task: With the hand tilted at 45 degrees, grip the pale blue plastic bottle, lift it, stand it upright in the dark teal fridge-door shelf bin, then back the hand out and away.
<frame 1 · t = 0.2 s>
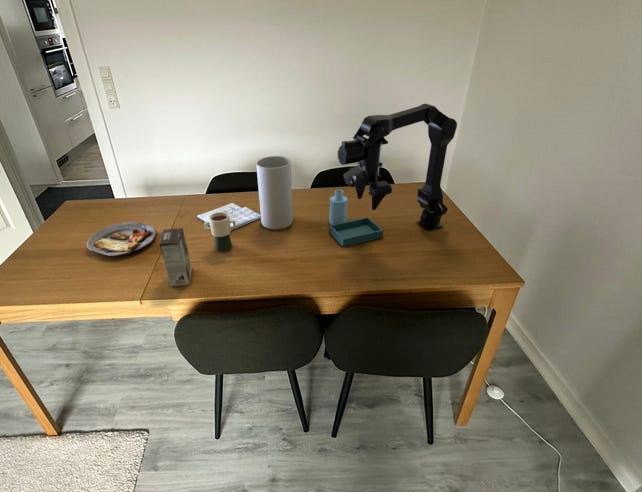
hand: (366, 204, 127), 15 cm above the table, tool pointing down, fingers open, 9 cm apart
plastic bottle: (337, 222, 148), on the table
food plate: (124, 242, 145), on the table
door shelf: (355, 234, 139), on the table
coffee box: (181, 278, 124), on the table
white printed square slab: (229, 218, 156), on the table
cylinder vase: (277, 223, 150), on the table
character mug: (224, 248, 137), on the table
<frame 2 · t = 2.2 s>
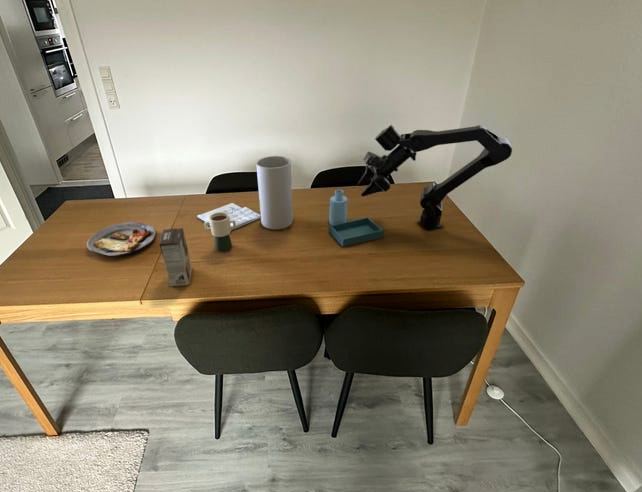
hand: (359, 190, 140), 13 cm above the table, tool tilted 45°, fingers open, 9 cm apart
nothing on the table moved.
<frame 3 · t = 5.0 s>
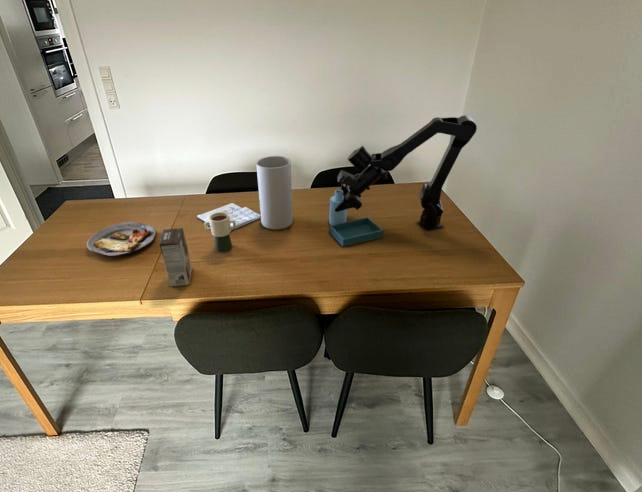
hand: (334, 207, 144), 7 cm above the table, tool tilted 45°, fingers closed on plastic bottle, 6 cm apart
plastic bottle: (337, 222, 148), on the table, touching gripper
everything else where it was.
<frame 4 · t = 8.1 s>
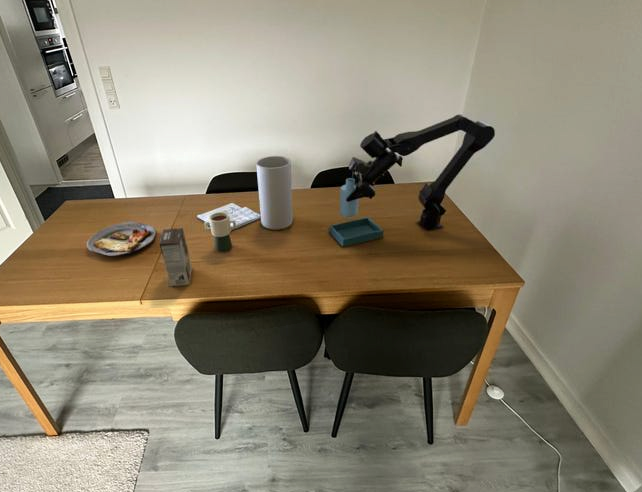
hand: (345, 196, 136), 13 cm above the table, tool tilted 45°, fingers closed on plastic bottle, 6 cm apart
plastic bottle: (348, 213, 139), point 7 cm above the table, touching gripper
everything else where it was.
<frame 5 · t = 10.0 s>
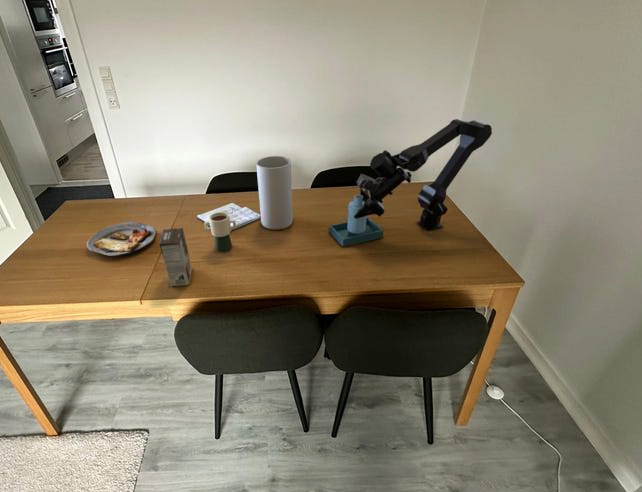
hand: (353, 213, 134), 9 cm above the table, tool tilted 45°, fingers closed on plastic bottle, 6 cm apart
plastic bottle: (356, 229, 138), point 2 cm above the table, touching gripper
everything else where it was.
when the fingers open (7 cm above the table, at t = 11.2 s): plastic bottle stays where it is, resting on door shelf.
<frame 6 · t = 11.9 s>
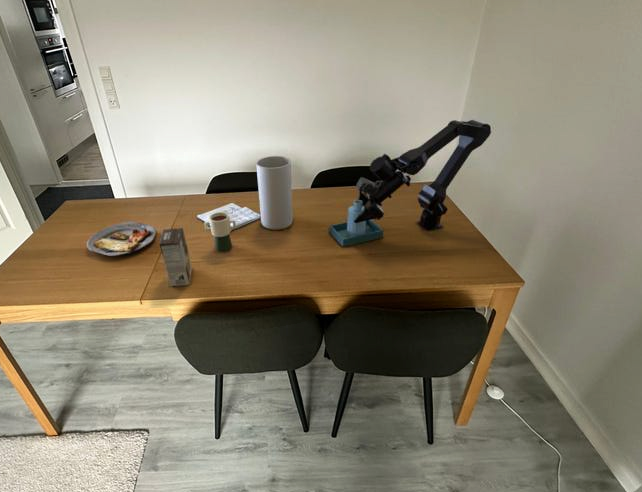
hand: (352, 216, 135), 8 cm above the table, tool tilted 45°, fingers open, 9 cm apart
plastic bottle: (355, 233, 139), resting on door shelf
everything else where it was.
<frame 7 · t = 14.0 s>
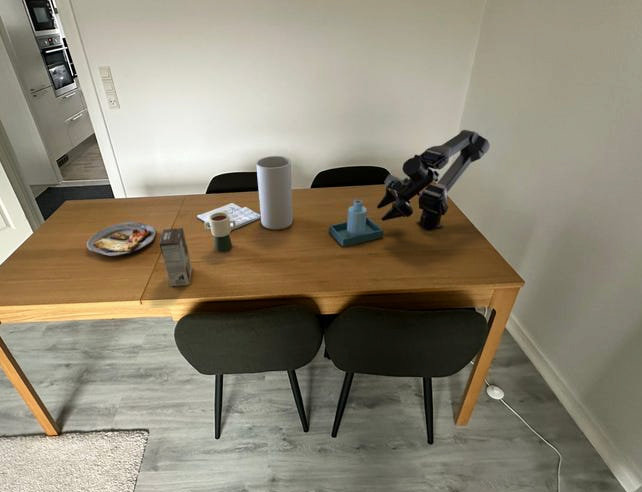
hand: (379, 213, 134), 9 cm above the table, tool tilted 45°, fingers open, 9 cm apart
nothing on the table moved.
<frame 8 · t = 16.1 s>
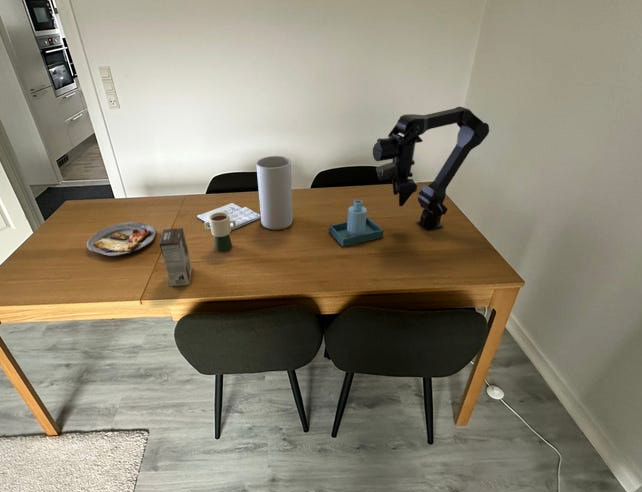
hand: (397, 200, 132), 13 cm above the table, tool pointing down, fingers open, 9 cm apart
nothing on the table moved.
at the end: plastic bottle inside the target area in the door shelf (0.0 cm from its centre), point 0.5 cm above the door shelf's base; plastic bottle tilted 0°; the gripper is holding nothing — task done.
